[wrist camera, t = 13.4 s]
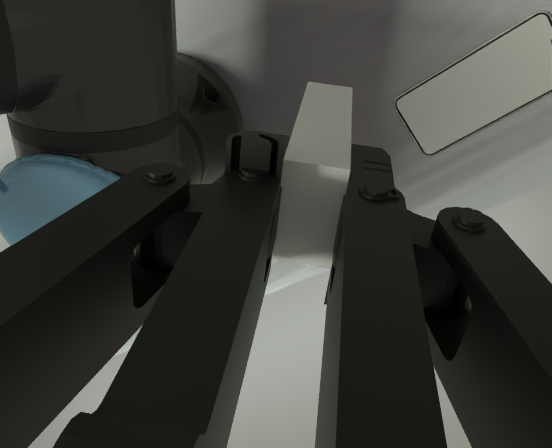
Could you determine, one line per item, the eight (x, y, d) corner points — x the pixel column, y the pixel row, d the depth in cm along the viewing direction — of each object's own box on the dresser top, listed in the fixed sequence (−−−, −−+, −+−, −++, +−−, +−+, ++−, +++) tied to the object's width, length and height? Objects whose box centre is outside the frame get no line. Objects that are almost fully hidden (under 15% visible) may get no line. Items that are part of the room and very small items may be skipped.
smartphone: (390, 101, 48) (546, 5, 42) (389, 99, 49) (543, 5, 43) (426, 160, 51) (578, 78, 45) (425, 157, 51) (575, 76, 45)
